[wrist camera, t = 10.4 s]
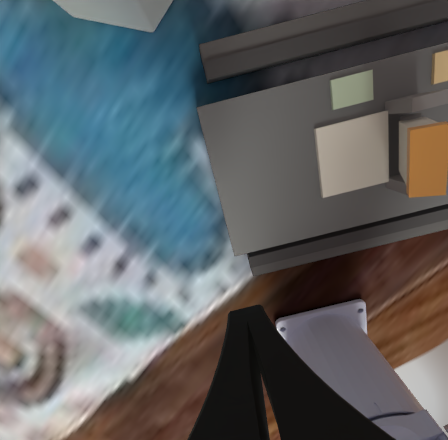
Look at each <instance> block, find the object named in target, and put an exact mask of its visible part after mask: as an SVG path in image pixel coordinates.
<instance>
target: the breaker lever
mask: <svg viewBox="0 0 448 440" xmlns="http://www.w3.org/2000/svg"><path fill="white" fill-rule="evenodd" d="M447 171H448V122H446V121H445V122H436V121H434V120H432V119H429V118H427V117H425V116H423V117H422V113H413V114H408V115H403V116H401V117H400V121H399V172H400V174H401V176H402V178H403V180H404V182H405V184H406V193H407V195H408V197H409V198H411V197H426V196H440V195H446V185H447Z"/></svg>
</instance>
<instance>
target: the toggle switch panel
mask: <svg viewBox="0 0 448 440" xmlns="http://www.w3.org/2000/svg"><path fill="white" fill-rule="evenodd" d="M197 111H198V115H199V119H200V123H201V127H202V131H203V135H204V139H205V143H206V146H207V150H208V154H209V158H210V162H211V166H212V170H213V174H214V178H215V182H216V186H217V189H218V193H219V197H220V201H221V205H222V209H223V213H224V217H225V221H226V225H227V229H228V232H229V236H230V240H231V244H232V248H233V252H234V256H238V255H242V254H246V253H250V252H254V251H258V250H262V249H267V248H271V247H275V246H279V245H283V244H287V243H291V242H295V241H299V240H303V239H307V238H311V237H315V236H319V235H323V234H327V233H331V232H335V231H340V230H344V229H348V228H352V227H356V226H360V225H364V224H368V223H372V222H376V221H380V220H384V219H388V218H392V217H396V216H400V215H404V214H408V213H413V212H417V211H421V210H425V209H429V208H433V207H437V206H441V205H445V204H448V171H447V185H446V195H440V196H426V197H411V198H409V197H408V195H407V193H406V184H405V182H404V180H403V178H402V176H401V174H400V172H399V121H400V117H401V116H403V115H408V114H413V113H422V117H423V116H425V117H427V118H429V119H432V120H434V121H436V122H445V121H446V122H448V42H447V43H443V44H439V45H435V46H431V47H428V48H424V49H420V50H416V51H412V52H408V53H404V54H401V55H397V56H393V57H389V58H385V59H381V60H377V61H374V62H370V63H366V64H362V65H358V66H354V67H350V68H347V69H343V70H339V71H335V72H331V73H327V74H323V75H320V76H316V77H312V78H308V79H304V80H300V81H297V82H293V83H289V84H285V85H281V86H277V87H273V88H270V89H266V90H262V91H258V92H254V93H250V94H246V95H243V96H239V97H235V98H231V99H227V100H223V101H219V102H216V103H212V104H208V105H204V106H200V107H197Z"/></svg>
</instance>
